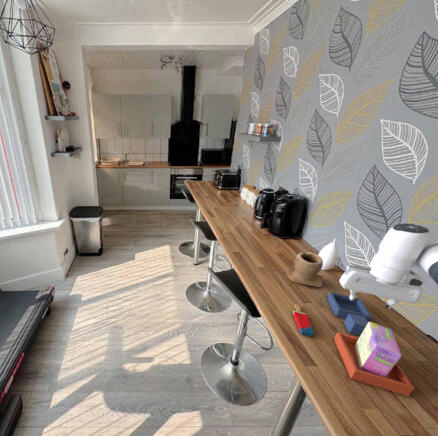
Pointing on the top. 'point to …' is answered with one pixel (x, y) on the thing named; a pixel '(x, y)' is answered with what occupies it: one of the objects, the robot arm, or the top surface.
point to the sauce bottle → (329, 256)
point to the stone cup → (307, 269)
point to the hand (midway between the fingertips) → (368, 303)
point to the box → (377, 350)
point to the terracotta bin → (391, 382)
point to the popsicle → (302, 322)
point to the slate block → (355, 324)
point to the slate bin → (347, 306)
